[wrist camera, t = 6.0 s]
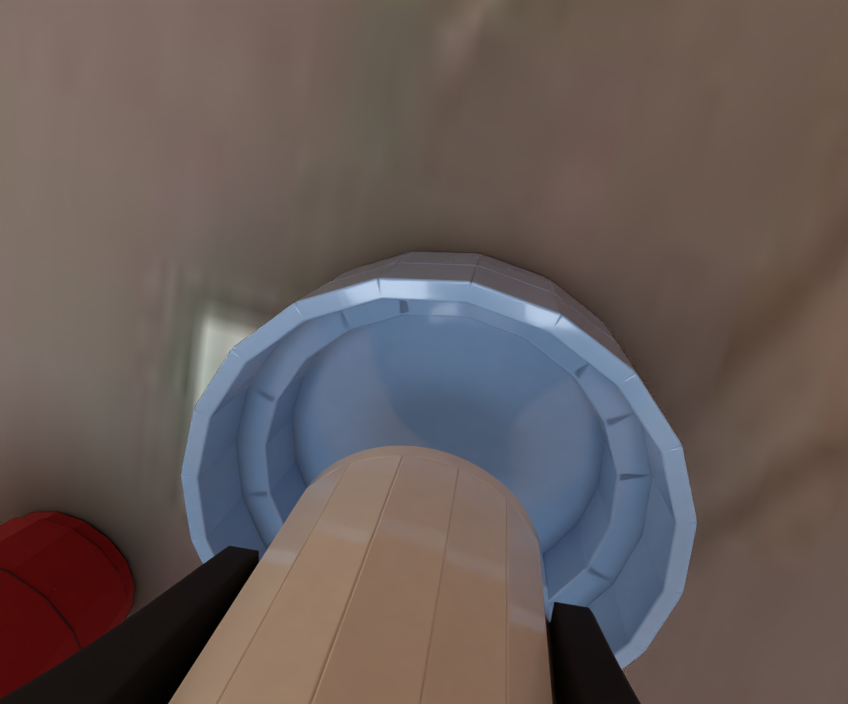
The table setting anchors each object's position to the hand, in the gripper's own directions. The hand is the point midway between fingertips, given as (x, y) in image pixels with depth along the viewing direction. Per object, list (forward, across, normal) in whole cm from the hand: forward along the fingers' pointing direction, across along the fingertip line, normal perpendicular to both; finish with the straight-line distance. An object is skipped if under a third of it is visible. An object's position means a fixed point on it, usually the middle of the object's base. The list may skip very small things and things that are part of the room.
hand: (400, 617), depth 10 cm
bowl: (+7, 0, 0) cm, 7 cm away
